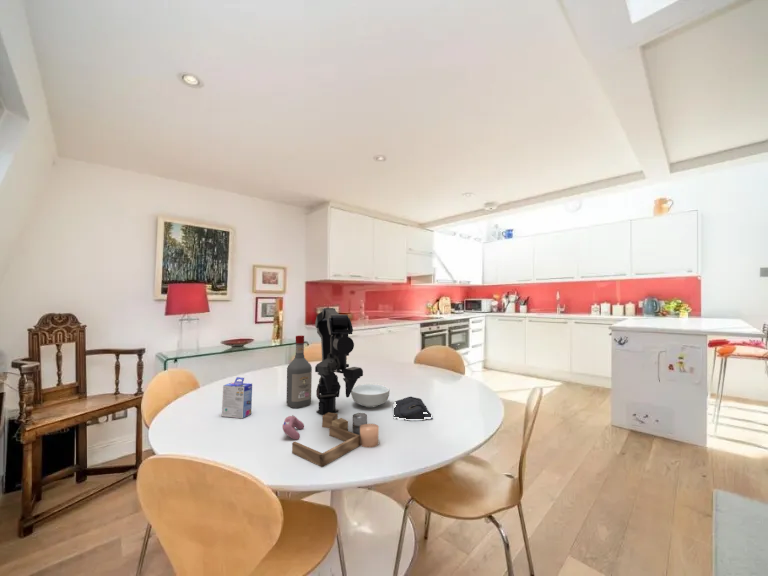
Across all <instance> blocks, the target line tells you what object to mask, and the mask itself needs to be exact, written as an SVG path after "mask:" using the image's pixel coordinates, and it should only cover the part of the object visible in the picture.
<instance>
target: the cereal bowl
mask: <svg viewBox="0 0 768 576" xmlns="http://www.w3.org/2000/svg"><path fill="white" fill-rule="evenodd" d="M350 395H351V398H352V400H353V401H354V402H355V403H356V404H358V405H361V406H362V407H363V406H366V407H365V408H374V407H373V406H377V405H379V406H380V405H383V404H384V403H386V402H387V400H388V399H389V397H390V388H389V387H388V386H386V385H383V384H378V383H361V384H357V385H354V387H353V389H352V391H351V393H350ZM377 407H378V406H377Z"/></svg>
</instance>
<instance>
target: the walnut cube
mask: <svg viewBox="0 0 768 576" xmlns="http://www.w3.org/2000/svg"><path fill="white" fill-rule="evenodd" d="M338 415H339V414H338V413H337V412H335V413H330V412H328V413H326V414H325V415H323V414H322V423H321V424H322V425H321V427H322V428H325V429H326V428H327V429H329V427H330V426H332V421H333V420H336V419H339V417H338Z"/></svg>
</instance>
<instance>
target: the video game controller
mask: <svg viewBox="0 0 768 576" xmlns="http://www.w3.org/2000/svg"><path fill="white" fill-rule="evenodd" d="M304 428H305V424H304V423H303V422H302V421H301V420H300V419H298V418H297V416H295V415H294V414H292V415H288V416H287V417H286V418H285V419H284V422H283V424H282V430H283V432H284V434H285V435H287V437H290V438H291V439H293V440H296V441H297V440H299V439H300V438H301V434H300V433H299V432H298V431H297V430H296V429H298V430H303V429H304Z"/></svg>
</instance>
